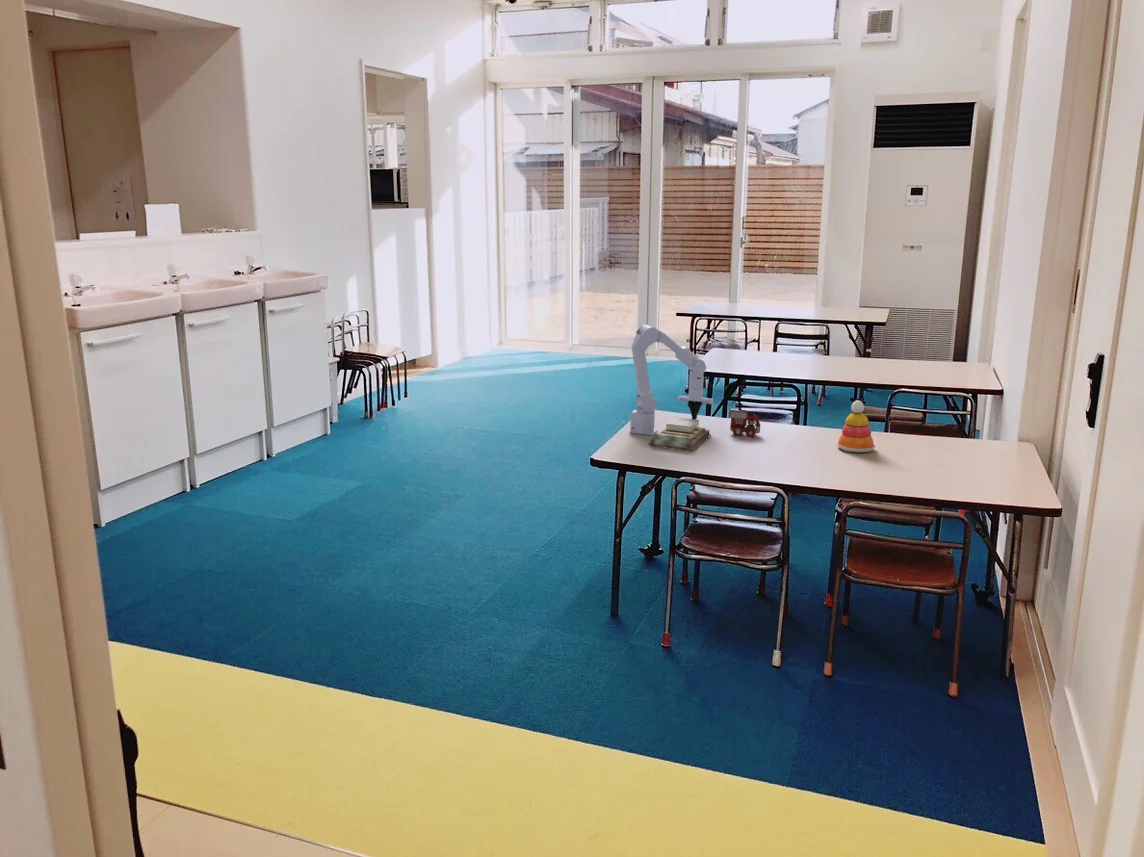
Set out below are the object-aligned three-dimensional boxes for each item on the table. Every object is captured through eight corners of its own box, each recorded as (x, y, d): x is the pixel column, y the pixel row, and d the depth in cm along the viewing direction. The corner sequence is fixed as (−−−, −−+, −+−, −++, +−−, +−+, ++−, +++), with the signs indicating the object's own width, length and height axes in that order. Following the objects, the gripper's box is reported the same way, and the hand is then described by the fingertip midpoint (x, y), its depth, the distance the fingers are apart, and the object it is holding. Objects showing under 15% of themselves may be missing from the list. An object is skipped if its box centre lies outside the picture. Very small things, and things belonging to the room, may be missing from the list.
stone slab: (666, 429, 359) (666, 423, 359) (675, 422, 370) (675, 417, 369) (690, 432, 355) (690, 426, 355) (698, 425, 366) (699, 419, 365)
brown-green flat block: (648, 445, 349) (648, 433, 348) (668, 430, 372) (669, 419, 370) (692, 451, 342) (693, 438, 341) (710, 436, 364) (711, 424, 363)
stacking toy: (870, 445, 354) (874, 397, 349) (878, 455, 341) (883, 405, 336) (833, 443, 356) (837, 395, 351) (840, 453, 342) (844, 404, 337)
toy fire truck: (759, 438, 362) (761, 413, 359) (728, 436, 364) (730, 411, 361) (759, 434, 369) (761, 409, 366) (729, 432, 371) (730, 408, 368)
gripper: (715, 387, 369) (713, 418, 373) (681, 383, 375) (680, 415, 379) (711, 390, 363) (709, 422, 367) (676, 386, 369) (675, 418, 372)
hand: (694, 419), depth 372 cm, fingers closed
